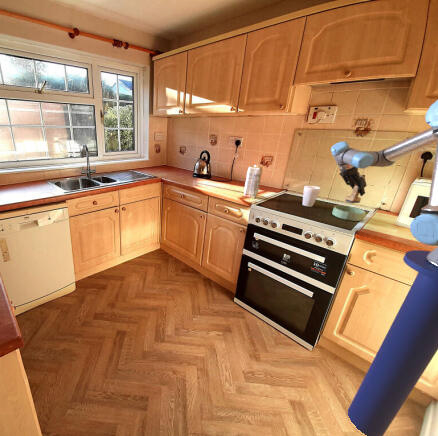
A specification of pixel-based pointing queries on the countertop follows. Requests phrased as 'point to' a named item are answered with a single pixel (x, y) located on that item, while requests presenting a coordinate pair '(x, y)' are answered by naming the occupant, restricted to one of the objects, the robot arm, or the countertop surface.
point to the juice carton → (252, 181)
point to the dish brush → (354, 196)
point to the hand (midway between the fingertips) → (360, 193)
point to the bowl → (348, 213)
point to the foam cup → (310, 195)
